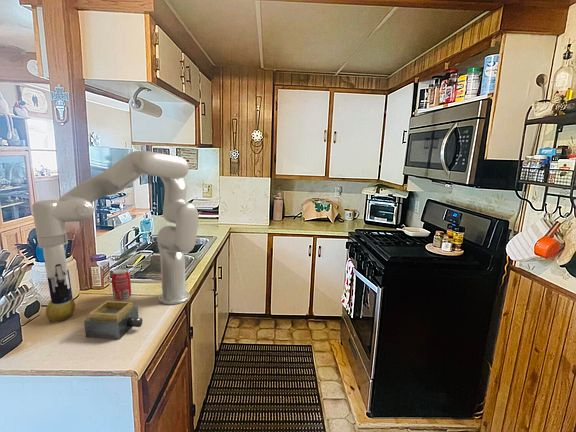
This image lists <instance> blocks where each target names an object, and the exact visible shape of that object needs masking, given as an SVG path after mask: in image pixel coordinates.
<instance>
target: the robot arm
mask: <svg viewBox="0 0 576 432" xmlns="http://www.w3.org/2000/svg"><path fill="white" fill-rule="evenodd" d="M189 168H190V167H189V163H188V162H187V160H186V159H185V158H183V157H181V156H177V155H171V154H166V153H160V152H155V151H150V150H134V151H132V152H129V153H128V154H126V155H125V156H123V158H120V159H119V160H118V161H117V162H115V163H114V164H113V165H110V166H109V167H108V168H107V169H105V170H104V171H102V172H100V173H99V174H96V175H95V176H93V177H91V178H88V179H86V180H84V181H83V182H81V183H79V184H77V185H76V186H74V187H73V188H71V189H70V190H68V192H66V193H65V194H63V195H62V196H61V197H60V198H58V200H57V199H44V200H39V201H35V202H33V204H32V206H31V211H32V217H33V222H34V227H35V234H36V239H37V247H38V248H39V249H41V248H42V252H43V253H42V254H43V259H44V265H45V271H46V272H45V273H46V277H47V276H48V278H49V279H51V278H54V280H55V293H56V298H57V299H59V298H63V297H67V296H68V295H69V294H68V287H67V284H66V279H65V276H66V275H67V268H68V265H67V258H66V250H65V245H67V244H68V243H69V241H68V234H67V228H66V223H71V222H74V223H75V222H76V223H77V222H83V221H88V220H89V219H90V218H91V217H92V216H93V215H94V213H95V208H94V207H95V206H94V205H93V203H94V202H95V201H97V200H98V199H101V198H104V197H106V196H111V195H115V194H118V193H121V192H122V191H124V190H125V189H126V188H127V187H129V186H130V185H132V184H133V183H134V182H135V181H137V180H138V179H140V178H141V177H142V176H153V177H158V178H160V179H161V181H162V183H163V186H164V198H163V208H162V217H163V218H164V220H165V221H167V222H169V223H171V224H175V226H174V225H165V226H163V227H162V228H160V230H158V232H157V235H156V241H157V242H156V243H157V247H158V249H159V250H158V251H159V257H160V258H159V259H160V277H161V294H160V295H159V296H158V301H159V302H160V303H161V304H163V305H177V304H182V303H184V302H186V301H188V300H189V298H190V297H191V296H190V292H189V291H188V290H187V288H186V287H187V285H188V282H187V281H186V263H185V262H186V261H185V259H186V257H185V254H188V253H190V252H191V251H193V249H194V247H195V245H196V242H197V236H198V227H199V211H198V209H197V206H195V205H194V204H193V203H191V202H188V201H187V191H188V190H187V189H188V188H187V183H186V179H185V178H184V177H186V176H187V174H188V173H189ZM55 266H56V267H55ZM64 272H65V273H64ZM55 275H57V277H55ZM48 278H47V279H48ZM57 278H58V280H57Z"/></svg>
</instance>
